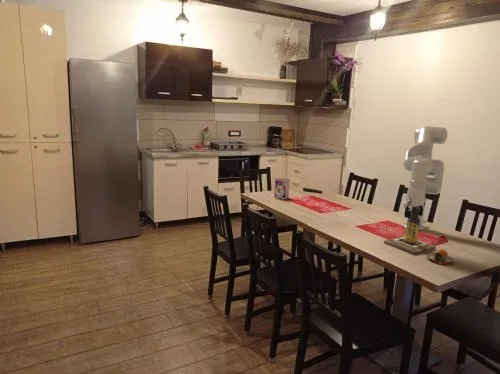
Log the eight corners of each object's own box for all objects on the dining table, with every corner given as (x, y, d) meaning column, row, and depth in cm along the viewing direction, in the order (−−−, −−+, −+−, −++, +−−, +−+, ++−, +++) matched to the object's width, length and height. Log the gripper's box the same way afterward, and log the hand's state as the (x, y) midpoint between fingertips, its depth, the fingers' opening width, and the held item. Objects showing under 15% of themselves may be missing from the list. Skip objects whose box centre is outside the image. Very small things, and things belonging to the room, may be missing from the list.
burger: (442, 255, 190) (445, 241, 188) (459, 265, 179) (461, 250, 177) (420, 256, 188) (423, 241, 186) (435, 266, 177) (438, 250, 175)
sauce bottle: (401, 242, 200) (406, 206, 196) (406, 240, 205) (411, 204, 200) (413, 246, 196) (419, 209, 192) (418, 243, 200) (423, 207, 196)
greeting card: (273, 197, 293) (274, 178, 290) (278, 195, 299) (279, 177, 296) (285, 200, 286) (286, 180, 283) (290, 198, 292) (292, 179, 289)
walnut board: (405, 238, 212) (405, 234, 212) (435, 249, 198) (435, 244, 197) (383, 243, 203) (384, 238, 202) (413, 255, 188) (414, 250, 188)
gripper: (421, 181, 201) (417, 212, 205) (400, 184, 192) (396, 216, 196) (434, 184, 195) (430, 216, 199) (413, 187, 186) (409, 220, 190)
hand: (413, 216), depth 197 cm, fingers open, 9 cm apart
